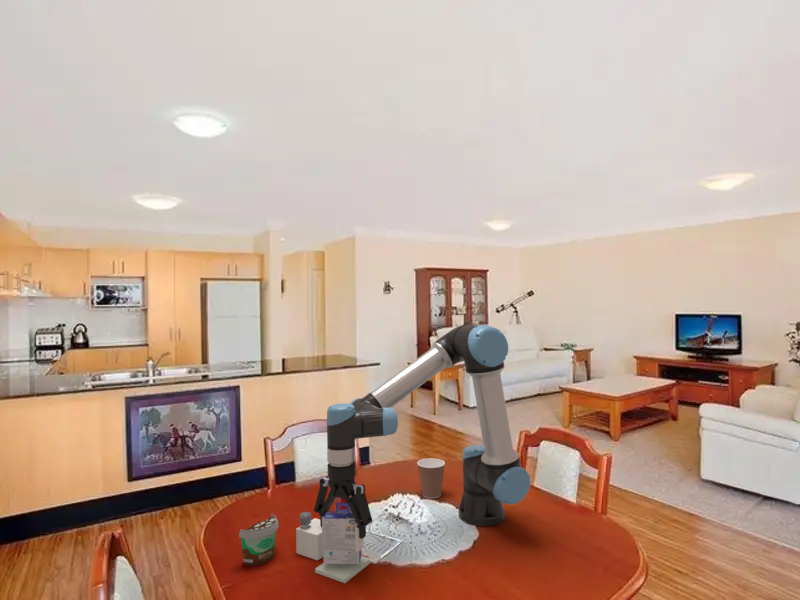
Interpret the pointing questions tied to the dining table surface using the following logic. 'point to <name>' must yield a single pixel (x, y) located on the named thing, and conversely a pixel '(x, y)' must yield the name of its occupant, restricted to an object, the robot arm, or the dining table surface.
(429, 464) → the coffee cup
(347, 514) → the ink cartridge box
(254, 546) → the food container
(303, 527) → the plunger
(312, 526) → the housing
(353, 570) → the pad
